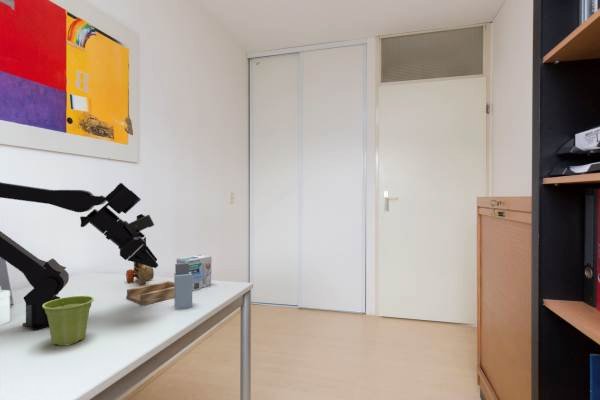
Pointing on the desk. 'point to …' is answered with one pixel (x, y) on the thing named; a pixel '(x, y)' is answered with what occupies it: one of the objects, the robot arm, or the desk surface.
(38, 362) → the desk surface
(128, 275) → the toy helicopter
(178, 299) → the box with grey fin
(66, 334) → the plant pot
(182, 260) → the light bulb box
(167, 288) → the cradle
